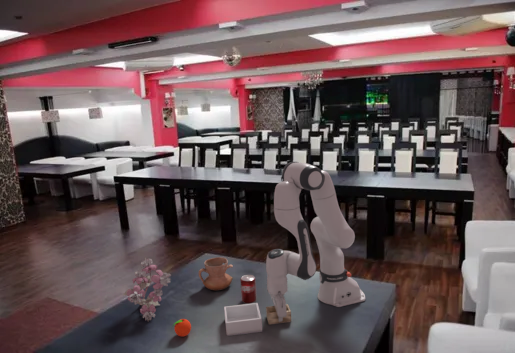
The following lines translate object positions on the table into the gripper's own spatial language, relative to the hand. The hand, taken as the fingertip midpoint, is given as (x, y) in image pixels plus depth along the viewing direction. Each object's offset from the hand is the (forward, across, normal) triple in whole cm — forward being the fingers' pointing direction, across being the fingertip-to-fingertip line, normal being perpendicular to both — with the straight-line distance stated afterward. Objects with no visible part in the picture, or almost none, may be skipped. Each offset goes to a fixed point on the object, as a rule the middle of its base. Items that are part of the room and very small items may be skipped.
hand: (278, 315), depth 172 cm
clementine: (+2, -3, +42) cm, 42 cm away
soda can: (+2, +19, +11) cm, 22 cm away
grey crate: (+2, -1, +16) cm, 16 cm away
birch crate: (+2, 0, 0) cm, 2 cm away
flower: (+2, +18, +58) cm, 61 cm away
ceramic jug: (+2, +37, +26) cm, 45 cm away
